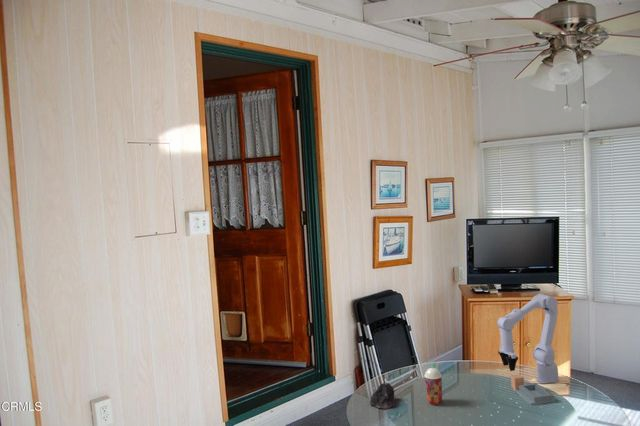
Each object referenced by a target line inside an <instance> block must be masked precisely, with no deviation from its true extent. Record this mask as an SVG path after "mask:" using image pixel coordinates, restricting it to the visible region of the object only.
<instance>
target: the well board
mask: <svg viewBox="0 0 640 426" xmlns="http://www.w3.org/2000/svg"><path fill="white" fill-rule="evenodd" d="M515 392H516V393H517V394H518V396H520V397H521V398H522V399H523V400H524V401H526V402H527V403H528V404H529V405H531V406H534V405H541V404H548V403H556V402H557V401H556V399H555V398H553V395H552V394H551V393H550V392H548V391H547V390H545V389H544V388H543V387H542V386H540V385H539V384H538V383H536V382H534V383H528V384H527V383H526V384H525V383H524V385H519V390H515Z"/></svg>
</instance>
